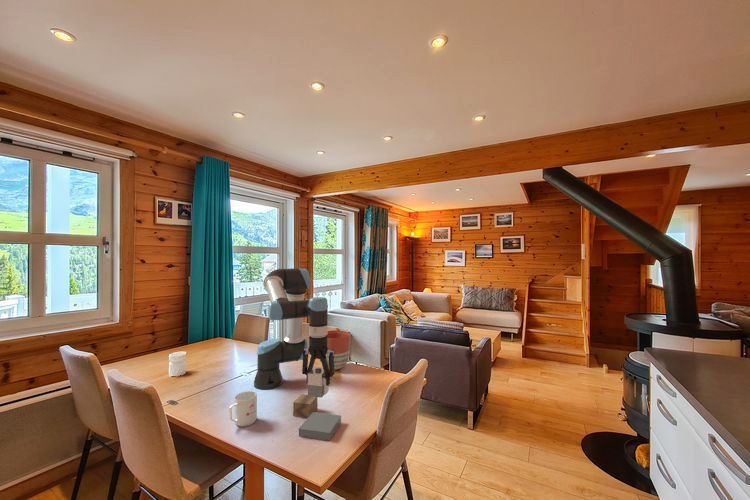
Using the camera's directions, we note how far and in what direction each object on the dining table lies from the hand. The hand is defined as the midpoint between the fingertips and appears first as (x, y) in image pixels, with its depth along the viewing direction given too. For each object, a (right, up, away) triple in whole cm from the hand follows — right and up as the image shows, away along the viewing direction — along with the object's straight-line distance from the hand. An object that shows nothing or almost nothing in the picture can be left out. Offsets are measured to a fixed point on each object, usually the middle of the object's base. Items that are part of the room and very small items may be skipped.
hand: (318, 392), depth 125 cm
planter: (-2, -17, +67) cm, 69 cm away
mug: (-33, -16, +4) cm, 37 cm away
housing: (0, 0, 0) cm, 0 cm away
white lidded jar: (-96, -17, +59) cm, 113 cm away
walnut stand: (-8, -15, +14) cm, 22 cm away
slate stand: (+1, -15, 0) cm, 15 cm away
